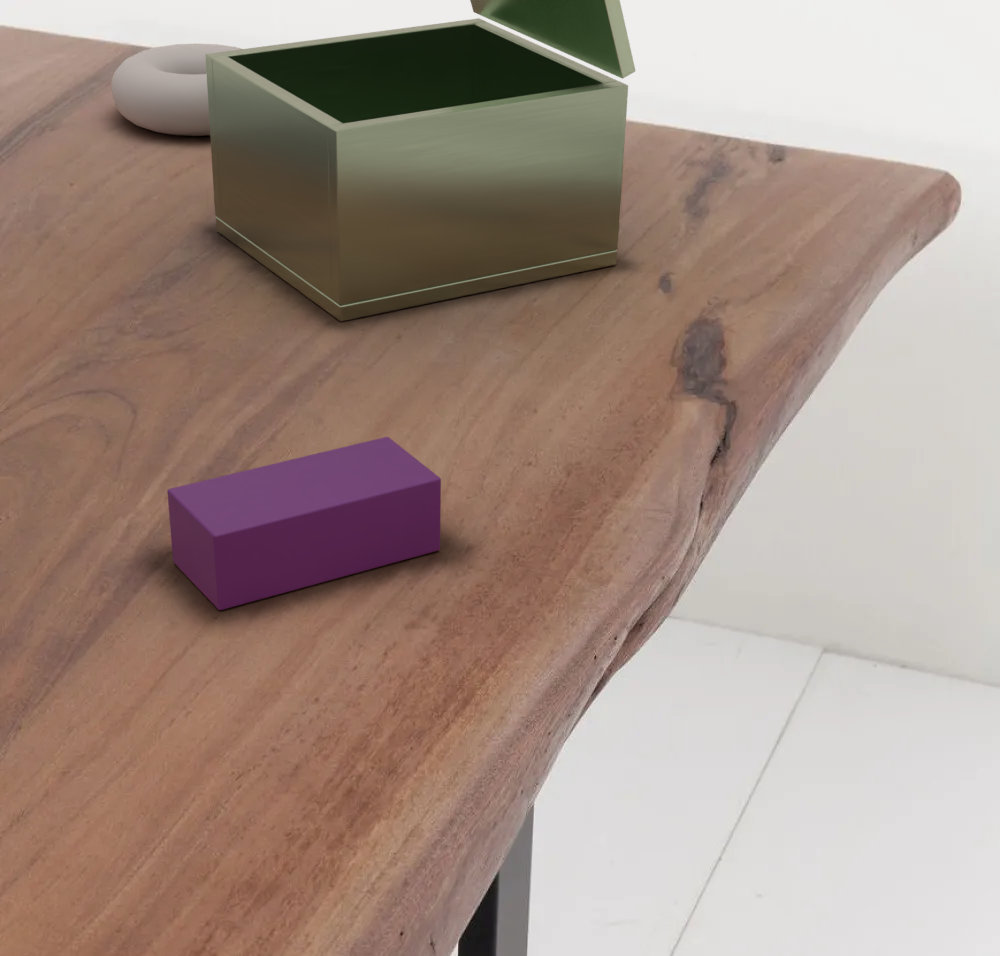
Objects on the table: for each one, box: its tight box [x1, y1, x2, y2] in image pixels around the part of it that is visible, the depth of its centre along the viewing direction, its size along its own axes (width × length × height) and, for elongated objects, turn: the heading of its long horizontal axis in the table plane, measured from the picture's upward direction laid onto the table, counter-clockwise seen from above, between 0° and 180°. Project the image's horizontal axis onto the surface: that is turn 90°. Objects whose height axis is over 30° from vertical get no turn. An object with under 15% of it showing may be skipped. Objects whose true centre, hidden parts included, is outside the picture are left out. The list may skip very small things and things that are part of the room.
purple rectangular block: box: [166, 436, 442, 611], centre depth 68 cm, size 9×4×3 cm, turn 122°
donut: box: [110, 43, 242, 137], centre depth 111 cm, size 10×4×10 cm
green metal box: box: [205, 17, 629, 322], centre depth 93 cm, size 16×14×9 cm
